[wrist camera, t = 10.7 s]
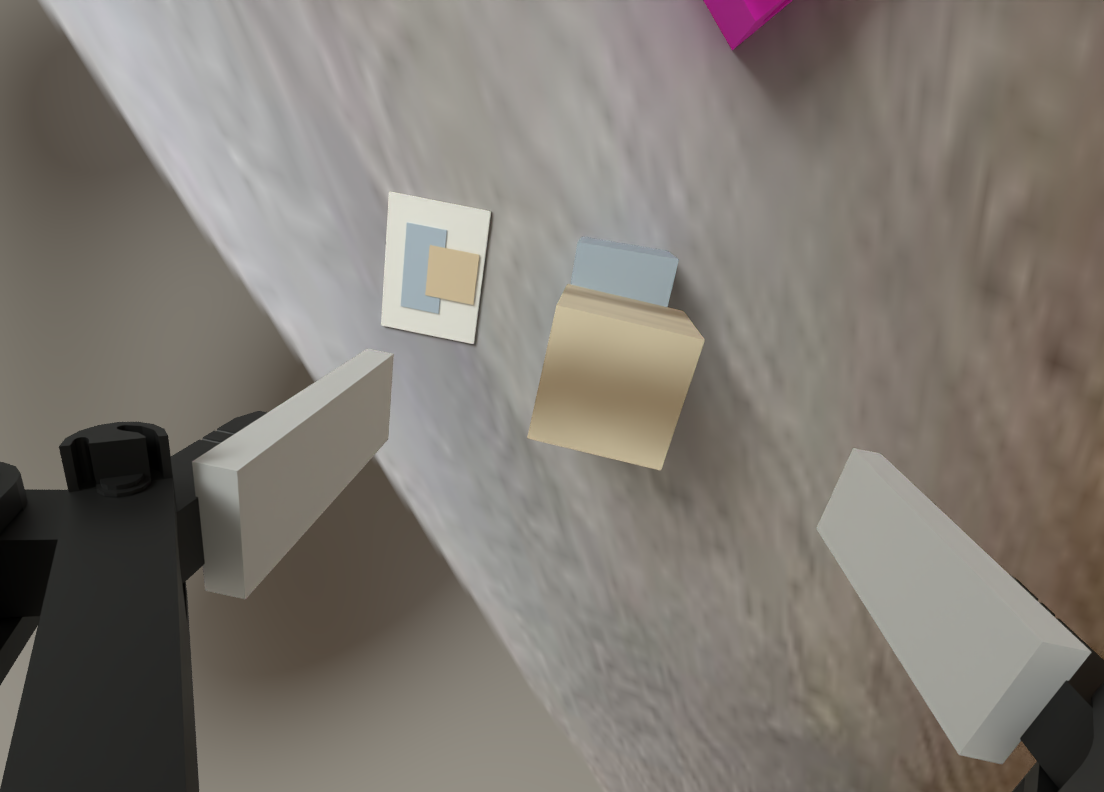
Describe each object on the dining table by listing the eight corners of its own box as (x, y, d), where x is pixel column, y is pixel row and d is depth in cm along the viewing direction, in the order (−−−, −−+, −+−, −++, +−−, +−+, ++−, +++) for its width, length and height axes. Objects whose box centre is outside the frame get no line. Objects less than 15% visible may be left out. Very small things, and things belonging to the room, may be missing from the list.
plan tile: (390, 191, 30) (387, 191, 29) (491, 211, 29) (489, 211, 29) (382, 324, 33) (380, 325, 32) (474, 343, 32) (472, 344, 32)
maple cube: (567, 283, 26) (556, 304, 20) (683, 310, 26) (704, 339, 20) (543, 391, 28) (527, 438, 22) (650, 417, 28) (661, 470, 22)
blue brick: (582, 236, 30) (577, 241, 25) (667, 250, 30) (679, 259, 25) (555, 394, 33) (547, 425, 29) (631, 408, 33) (635, 441, 28)
